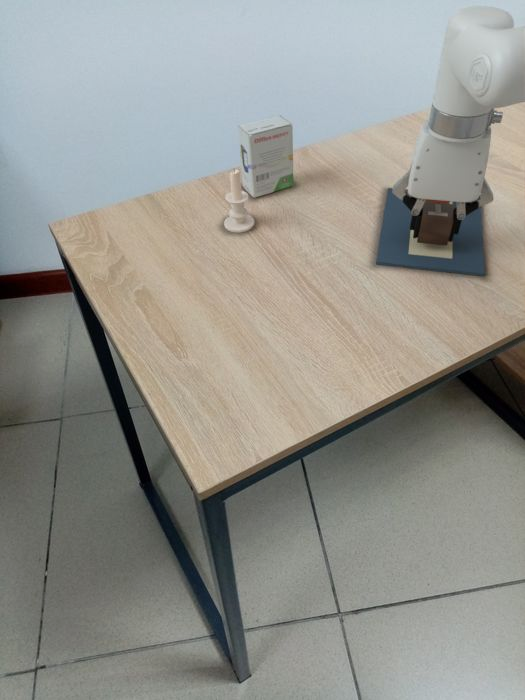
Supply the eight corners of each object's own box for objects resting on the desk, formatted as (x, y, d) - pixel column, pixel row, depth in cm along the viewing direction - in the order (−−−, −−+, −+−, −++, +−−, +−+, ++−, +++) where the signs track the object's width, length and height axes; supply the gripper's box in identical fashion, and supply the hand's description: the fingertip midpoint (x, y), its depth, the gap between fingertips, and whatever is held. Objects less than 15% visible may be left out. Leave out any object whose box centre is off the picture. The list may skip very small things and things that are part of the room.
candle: (219, 229, 91) (212, 173, 83) (232, 213, 94) (227, 158, 86) (246, 235, 89) (241, 179, 82) (259, 219, 92) (256, 163, 85)
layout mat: (479, 198, 94) (480, 194, 93) (483, 276, 79) (485, 272, 79) (387, 190, 97) (388, 187, 96) (375, 264, 82) (376, 260, 82)
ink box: (253, 199, 97) (249, 136, 88) (241, 186, 100) (236, 124, 92) (294, 186, 99) (294, 123, 91) (281, 174, 102) (280, 112, 94)
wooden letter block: (447, 229, 84) (453, 203, 81) (447, 245, 81) (453, 220, 78) (418, 226, 85) (423, 200, 82) (417, 242, 82) (422, 217, 79)
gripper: (524, 110, 71) (488, 226, 84) (395, 103, 74) (380, 216, 87) (530, 136, 66) (490, 255, 79) (391, 127, 69) (375, 243, 82)
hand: (432, 233), depth 83 cm, fingers closed on wooden letter block, 4 cm apart
